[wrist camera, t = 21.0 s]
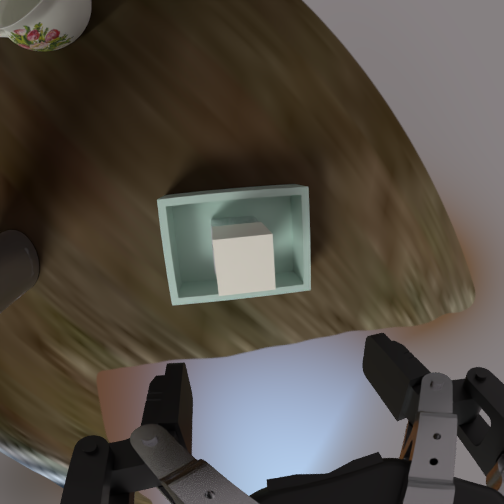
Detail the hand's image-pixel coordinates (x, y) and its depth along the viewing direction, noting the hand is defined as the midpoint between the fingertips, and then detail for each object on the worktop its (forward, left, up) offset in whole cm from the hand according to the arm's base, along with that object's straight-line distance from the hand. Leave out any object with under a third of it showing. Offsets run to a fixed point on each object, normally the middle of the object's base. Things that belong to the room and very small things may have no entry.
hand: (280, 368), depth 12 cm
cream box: (0, 0, -20) cm, 20 cm away
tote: (0, 0, -26) cm, 26 cm away
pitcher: (-22, +32, -26) cm, 47 cm away
